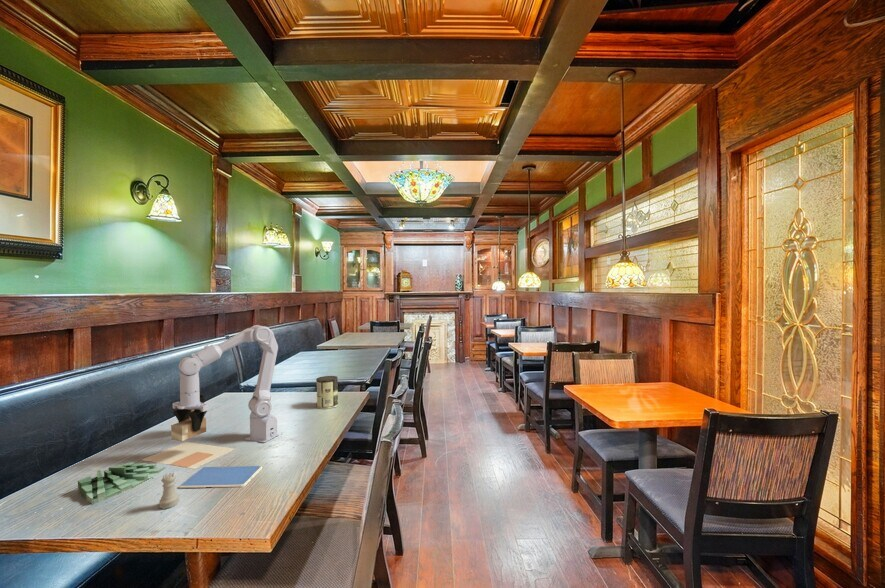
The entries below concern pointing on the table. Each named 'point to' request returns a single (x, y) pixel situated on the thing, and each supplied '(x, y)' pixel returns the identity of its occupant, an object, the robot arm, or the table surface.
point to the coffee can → (327, 392)
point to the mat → (189, 455)
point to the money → (116, 480)
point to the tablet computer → (221, 477)
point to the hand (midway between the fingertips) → (190, 429)
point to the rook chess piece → (168, 492)
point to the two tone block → (186, 430)
